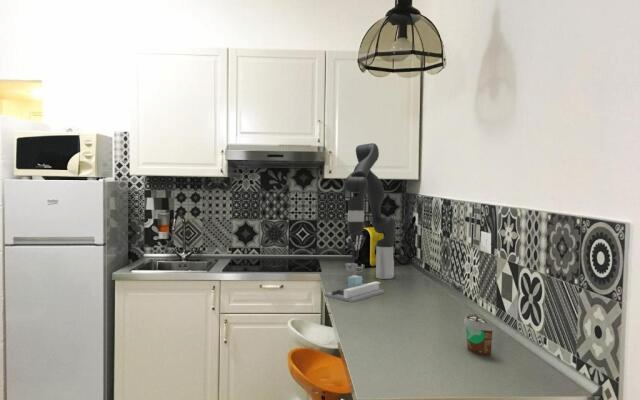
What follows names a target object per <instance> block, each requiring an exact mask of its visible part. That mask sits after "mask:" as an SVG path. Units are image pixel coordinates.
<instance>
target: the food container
mask: <svg viewBox="0 0 640 400" xmlns="http://www.w3.org/2000/svg"><path fill="white" fill-rule="evenodd" d="M463 325H465V333H466V348H467V351H469V352H470V353H472V354H476V355H479V356H491V355H492V345H493V344H492V342H493V332H494V323H491V322H490V323H489V322H487V321H486V320H485V319H483V318H480V317H479V316H478V312H472V313H468V314H466V315H465V317H464V320H463Z"/></svg>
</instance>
